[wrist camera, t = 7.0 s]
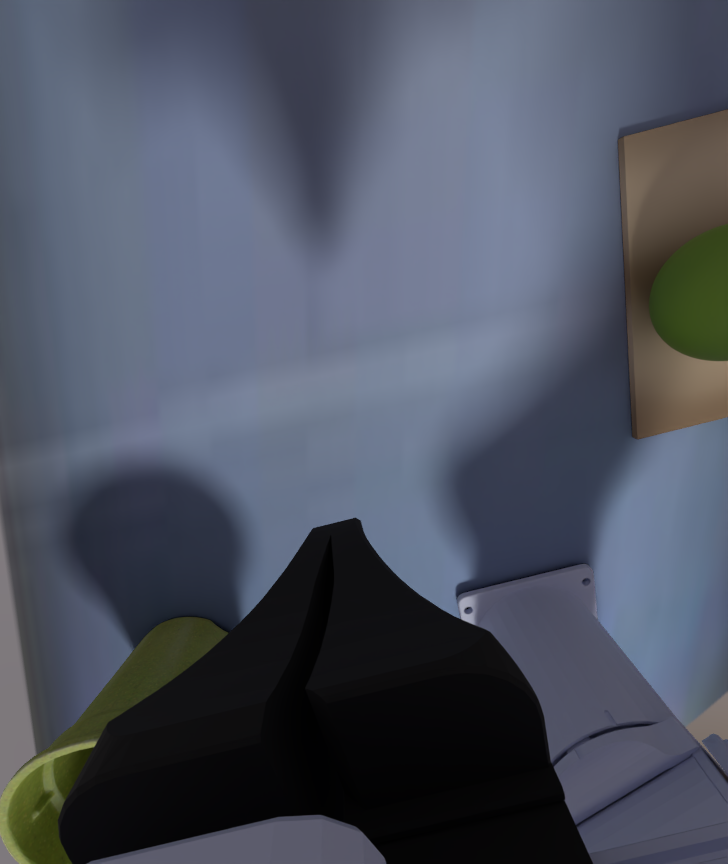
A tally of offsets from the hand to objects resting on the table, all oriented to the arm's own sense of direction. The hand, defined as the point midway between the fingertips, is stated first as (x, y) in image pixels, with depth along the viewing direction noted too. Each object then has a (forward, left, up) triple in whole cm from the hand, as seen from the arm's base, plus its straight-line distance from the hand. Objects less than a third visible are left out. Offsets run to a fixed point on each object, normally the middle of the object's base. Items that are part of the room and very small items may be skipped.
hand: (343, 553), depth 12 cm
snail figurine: (+3, -14, -6) cm, 16 cm away
